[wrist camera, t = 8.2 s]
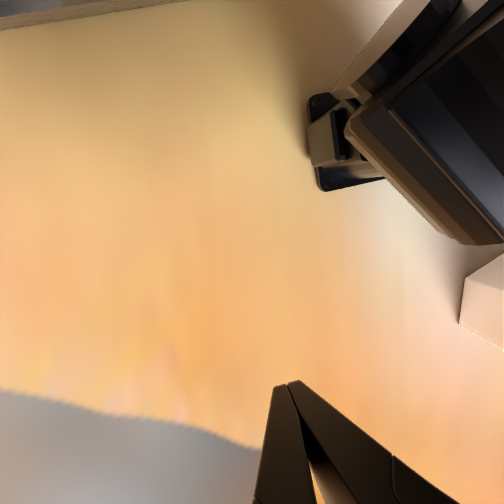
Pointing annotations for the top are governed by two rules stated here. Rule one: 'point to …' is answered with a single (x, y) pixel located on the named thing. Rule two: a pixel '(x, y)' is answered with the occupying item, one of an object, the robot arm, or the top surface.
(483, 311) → the jar
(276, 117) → the top surface
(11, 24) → the shaft stand
